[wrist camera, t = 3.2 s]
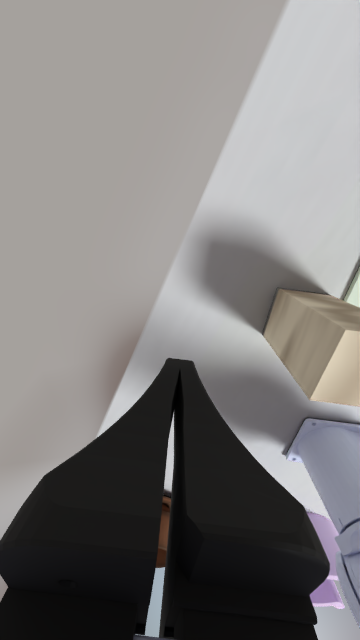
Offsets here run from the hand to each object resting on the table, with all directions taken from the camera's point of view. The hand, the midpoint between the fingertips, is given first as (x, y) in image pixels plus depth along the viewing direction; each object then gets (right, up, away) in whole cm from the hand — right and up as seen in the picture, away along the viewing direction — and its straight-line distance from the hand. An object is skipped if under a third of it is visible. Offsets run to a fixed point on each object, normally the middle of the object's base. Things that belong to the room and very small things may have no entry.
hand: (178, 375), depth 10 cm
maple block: (+12, +3, +9) cm, 15 cm away
